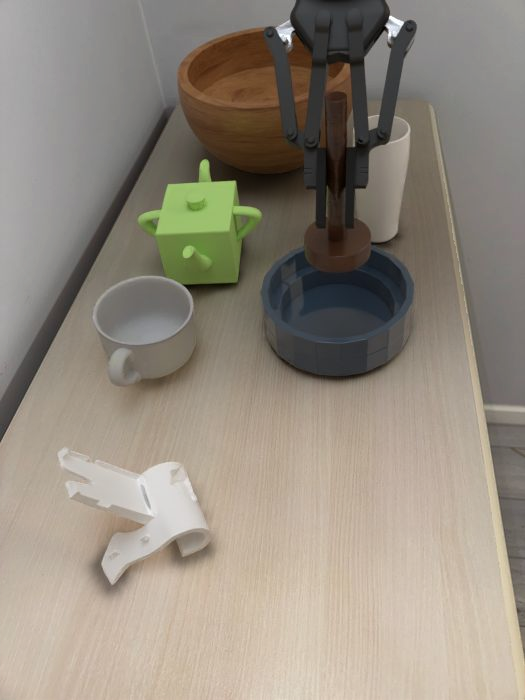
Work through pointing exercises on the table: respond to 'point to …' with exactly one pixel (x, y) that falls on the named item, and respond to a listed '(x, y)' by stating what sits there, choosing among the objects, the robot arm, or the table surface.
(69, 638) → the table surface
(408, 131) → the drinking glass
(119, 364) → the teacup
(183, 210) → the teapot
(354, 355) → the mixing bowl
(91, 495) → the plastic part
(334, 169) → the wooden stand
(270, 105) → the bowl
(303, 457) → the table surface
